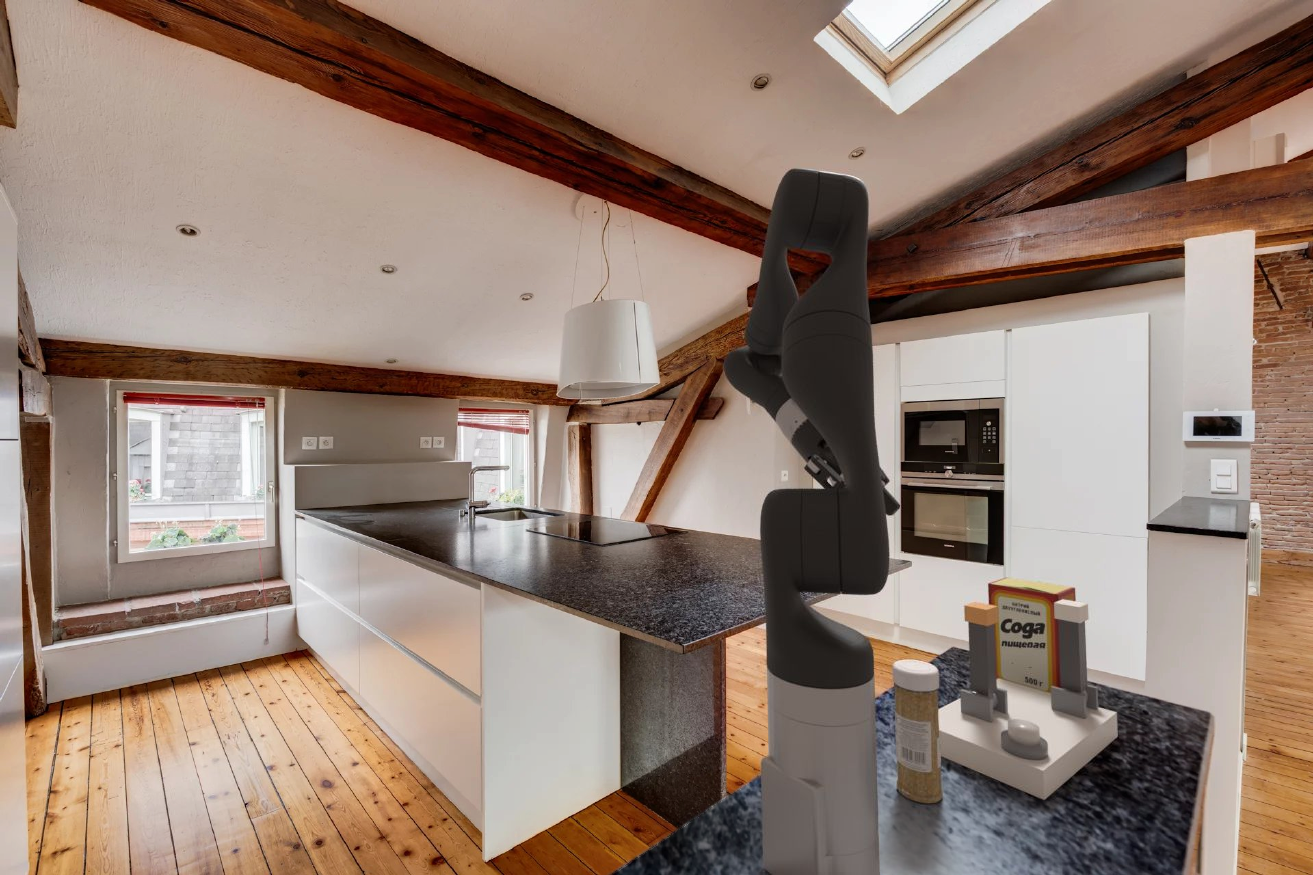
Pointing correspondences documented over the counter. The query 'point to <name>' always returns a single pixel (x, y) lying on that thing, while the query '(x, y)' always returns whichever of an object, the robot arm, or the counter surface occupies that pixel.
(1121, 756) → the counter surface
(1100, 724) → the switch panel
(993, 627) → the lever orange
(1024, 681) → the baking soda box
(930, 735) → the sprinkles bottle
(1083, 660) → the lever white
